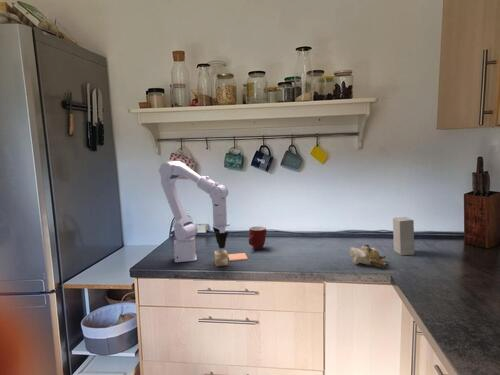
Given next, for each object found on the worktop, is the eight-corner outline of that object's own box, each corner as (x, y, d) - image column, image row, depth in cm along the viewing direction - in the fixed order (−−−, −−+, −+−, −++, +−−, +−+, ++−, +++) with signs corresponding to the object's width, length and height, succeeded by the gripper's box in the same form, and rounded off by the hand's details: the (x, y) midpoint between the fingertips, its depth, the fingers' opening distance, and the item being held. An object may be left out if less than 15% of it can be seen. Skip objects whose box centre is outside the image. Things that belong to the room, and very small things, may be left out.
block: (216, 266, 150) (215, 254, 149) (214, 262, 155) (214, 251, 154) (227, 265, 151) (227, 253, 150) (226, 261, 156) (226, 250, 155)
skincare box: (414, 255, 158) (416, 220, 156) (398, 255, 158) (399, 220, 156) (406, 249, 167) (408, 216, 165) (391, 249, 167) (392, 216, 165)
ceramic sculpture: (349, 239, 154) (386, 243, 151) (348, 258, 155) (384, 262, 152) (350, 246, 144) (390, 250, 140) (348, 267, 145) (388, 271, 142)
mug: (258, 253, 165) (258, 232, 164) (243, 251, 169) (243, 230, 168) (269, 247, 174) (269, 227, 173) (254, 245, 178) (254, 225, 177)
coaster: (229, 261, 155) (229, 259, 155) (227, 255, 163) (227, 254, 163) (248, 259, 157) (247, 258, 157) (244, 254, 165) (244, 252, 165)
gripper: (231, 216, 144) (232, 249, 145) (226, 210, 158) (227, 240, 160) (214, 218, 142) (215, 251, 144) (210, 211, 157) (212, 241, 158)
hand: (220, 245), depth 152 cm, fingers open, 7 cm apart
